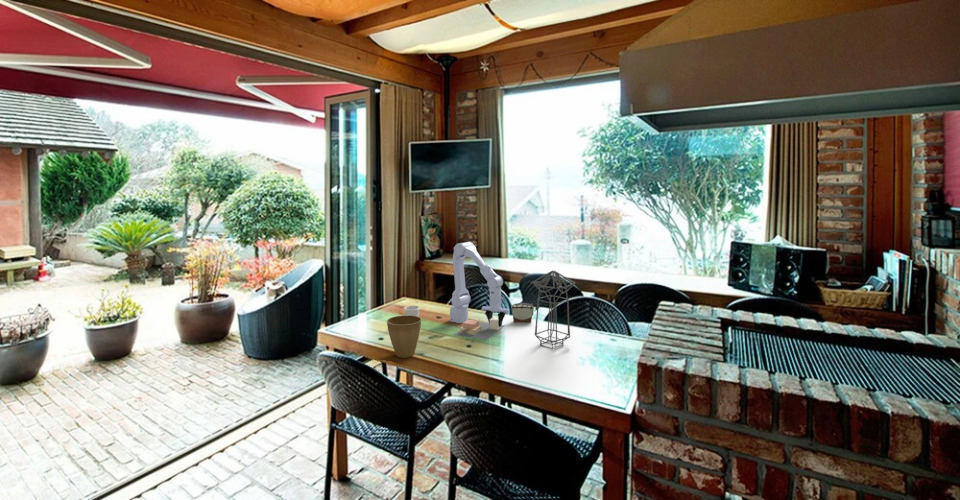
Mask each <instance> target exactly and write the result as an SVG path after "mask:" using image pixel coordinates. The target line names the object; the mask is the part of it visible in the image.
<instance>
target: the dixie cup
mask: <svg viewBox="0 0 960 500" xmlns="http://www.w3.org/2000/svg"><path fill="white" fill-rule="evenodd" d="M420 309H421V307H420V306H419V305H407V306H405V307H404V308H403V310H404V314H405V315H411V316H417V317H420Z"/></svg>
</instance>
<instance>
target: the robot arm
mask: <svg viewBox="0 0 960 500" xmlns="http://www.w3.org/2000/svg"><path fill="white" fill-rule="evenodd" d="M452 254H453V255H452V264H453V276H454V286H455V287H454V291H453V292H452V294H451V295H452V297H451V307H450V309H449V322H451V323H453V322H454V323H458V324H463V323H464V322H465V321H467V320H469V306H470V305H469V304H470V302H471V301H472V299H471V295H470V292H469V290H468V289H467V288H466V287H467V286H466V278H465V266H464V265H465V264H464V259H466V258H471V260H472V261H473V262H474V263H475V264H476V265H477V266H478V268H479V271H480V273H481V275H482V276H483V277H484V279H485V280H486V281H487V282H486V284H487V286H488V289H489V306H487V305H486V306H482V307H481V311H482V312H485V313H484V315H485V316H486V318H487V320H488V321H487V322H488V323H489V325H490V319H491V318H493V314H494V313H497V318H498V319H499V327H501V326H502V325H503V320H504V319H505V318H504V317H505V316H506V315H508V314H510V309H509V308H504V307H502V286H503V284H504V279H503V277H502V276H501V275H499V274H497V273H496V272H495V271H494V270H493V267H492V266H491V265H490V264H486V263H485V261H484V260H483V258H482V256H481V255H480V254H479V252H478V251H477V247H476V246H475V245H474V243H473V242H472V241H467V242H459V243H456V244H455V246H454V247H453V253H452Z"/></svg>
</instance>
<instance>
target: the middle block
mask: <svg viewBox="0 0 960 500" xmlns="http://www.w3.org/2000/svg"><path fill="white" fill-rule="evenodd" d="M479 322H480V321H479V320H475V319H474V320H473V319H468V320H467V321H465V322H464V323H462V327H463V328H468V329H475V328H477V327H478V326H479Z"/></svg>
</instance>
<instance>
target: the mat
mask: <svg viewBox="0 0 960 500" xmlns="http://www.w3.org/2000/svg"><path fill="white" fill-rule="evenodd" d="M479 325H481V326H482V331H480V332H479V333H477V334H476V335H471V334H464V333H460V330H459V331H457V332H455V333H453V334H452V335H453V336H459V337H465V338H472V339H477V340H483V341H487V340H489V339H490V338H491V337H492V336H493V335H495V334H496V333H498V332H499V331H501V329H504V327H505V325H503V324H502V326H501V328H500V329H499V330H493V329H490V325H489V322H488V323H487V322H482V321H479Z"/></svg>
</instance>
